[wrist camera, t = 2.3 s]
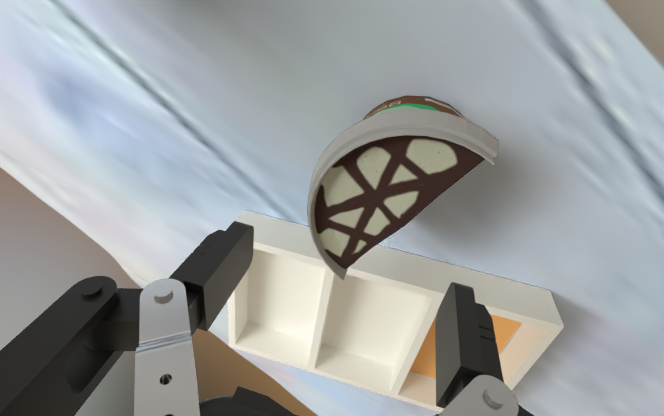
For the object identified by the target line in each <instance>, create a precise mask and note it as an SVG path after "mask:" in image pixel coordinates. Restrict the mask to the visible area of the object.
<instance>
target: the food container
mask: <svg viewBox="0 0 664 416" xmlns="http://www.w3.org/2000/svg"><path fill="white" fill-rule="evenodd" d="M497 155H498V140H497V139H496V138H495V137H493V136H492V135H491V134H489V133H488V132H487V131H486V130H484V129H483V128H481V127H479V126H477V125H475V124H474V123H472V122H470V121H468V120H466V119H464V117H463V116H462V114H460V113H459V112H458V111H457V110H455V109H454V108H453V107H451V106H450V105H449V104H446V103H444V102H441V101H438V100H436V99H433V98H431V97H425V96H403V97H399V98H396V99H392V100H388V101H386V102H384V103H382V104H381V105H379V106H378V107H376V108H374V109H373V110H372V111H371V112H370V113H369V114H368V115H366V117H365V118H364V119H363V120H362V121H360V122H358V123H356V124H354V125H353V126H351V127H350V128H348V129H347V130H345V131H344V132H343V133H341V134H340V135H339V136H338V137H337V138H336V139H335V140H334V141H333V142H332V143H331V144H330V145H329V146H328V147H327V149H326V150H325V151H324V153H323V154H322V155H321V157H320V159H319V161H318V163H317V165H316V167H315V169H314V172H313V175H312V179H311V183H310V188H309V195H308V205H307V214H308V223H309V227H310V232H311V236H312V239H313V242H314V245H315V247H316V249H317V251H318V253H319V255H320V256H321V258H322V259H323V261H324V262H325V264H326V265H327V266H328V267H329V268H330V269H331V271H332V272H333V273H334V274H335V275H337V276H338V277H339V278H340V279H341V280H342V281H344V278H345V275H346V273H347V270H348V267H349V266H351V265H353V264H354V263H355V262H356V261H357V260H358V259H359V258H360V257H361V256H362V255H364V254H365V253H366V252H368V251H369V250H370V249H372V248H373V247H374V246H376V245H377V244H378V243H380V242H381V241H383V240H384V239H386V238H387V237H389V236H390V235H392V234H393V233H395V232H396V231H397V230H399V229H400V228H402V227H403V226H405V225H406V224H407V223H408V222H409V221H411V220H412V219H413V218H414V217H415V216H416V215H417V214H418V213H420V212H421V211H422V210H423V209H424V208H425V207H426V206H427V205H429V204H430V203H431V202H432V201H433V200H434V199H436V198H437V197H438V196H439V195H440V194H441V193H443V192H444V191H445V190H447V189H448V188H449V187H450V186H452V185H453V184H454V183H455V182H457V181H458V180H459V179H460V178H462V177H463V176H464V175H465V174H467V173H468V172H469V171H471V170H472V169H473V168H474V167H476V166H477V165H478V164H479V163H481V162H482V161H483V160H484V159H486V160H487V161H488V162H490V163H491V164H492V165H495V161H494V158H495V157H496V156H497Z"/></svg>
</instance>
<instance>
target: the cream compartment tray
mask: <svg viewBox="0 0 664 416" xmlns="http://www.w3.org/2000/svg"><path fill="white" fill-rule="evenodd" d="M236 221H237V222H241V223H244V224H248V225H252V226H253V227H254V246H253V258H252V262H251V265H250V267H249V269H248V270H247V272H246V273H245V275H244V276H243V278H242V279H241V281H240V282H239V284H238V285H237V287H236V288H235V290H234V291H233V293H232V294H231V296H230V297H229V299H228V300H227V303H228V333H229V347H232V348H235V349H239V350H242V351H245V352H248V353H251V354H255V355H258V356H261V357H264V358H267V359H271V360H274V361H277V362H280V363H283V364H287V365H290V366H293V367H296V368H299V369H303V370H306V371H309V372H312V373H315V374H319V375H322V376H325V377H328V378H331V379H335V380H338V381H341V382H344V383H347V384H351V385H354V386H357V387H360V388H363V389H367V390H370V391H373V392H376V393H379V394H383V395H386V396H389V397H392V398H395V399H399V400H402V401H405V402H408V403H411V404H415V405H418V406H421V407H424V408H427V409H431V410H434V411H437V412H440V413H441V412H442V411H443V410H444V408H441V407H438V406H436V348H435V321H436V315H437V311H438V309H439V306H440V304H441V302H442V300H443V298H444V296H445V294H446V292H447V290H448V288H449V286H450V284H451V283H452V282H455V283H459V284H462V285H466V286H469V287H472V288H473V289H474V295H475V303H479V304H482V305H485V307H486V309H487V310H488V312H489V314H490V315H491V317H492V320H493V326H494V332H495V337H496V343H497V348H498V353H499V358H500V364H501V369H502V375H503V380H504V384H506V385H507V386H508V387H509V388H510V390H511V391H512V390H513V388H514V387H515V386H516V385H517V384H518V382H519V381H520V380H521V379H522V378H523V376H524V375H525V374H526V373H527V371H528V370H529V369H530V368H531V367H532V365H533V364H534V363H535V362H536V361H537V359H538V358H539V357H540V356H541V354H542V353H543V352H544V351H545V350H546V348H547V347H548V346H549V345H550V344H551V342H552V341H553V340H554V339H555V337H556V336H557V335H558V334H559V333H560V331H561V330H562V329H563V328H564V325H563V322H562V320H561V317H560V315H559V312H558V310H557V307H556V305H555V302H554V300H553V297H552V295H551V292H550V290H546V289H543V288H539V287H535V286H531V285H528V284H524V283H520V282H516V281H512V280H509V279H505V278H501V277H497V276H493V275H490V274H486V273H482V272H478V271H475V270H471V269H467V268H463V267H459V266H456V265H452V264H448V263H444V262H441V261H437V260H433V259H429V258H425V257H422V256H418V255H414V254H410V253H406V252H403V251H399V250H395V249H391V248H388V247H384V246H380V245H376V246H374V247H373V248H372V249H370V250H369V251H368V252H366V253H365V254H364V255H362V256H361V257H360V258H359V259H358V260H357V261H356V262H355V263H354V264H353V265H351V266H349V267H348V270H347V273H346V275H345V278H344V281H342V280H341V279H340V278H339V277H338V276H337V275H335V274H334V273H333V272H332V271H331V269H330V268H329V267H328V266H327V265H326V264H325V262H324V261H323V259H322V258H321V256H320V255H319V253H318V251H317V249H316V247H315V245H314V242H313V239H312V236H311V232H310V227H308V226H304V225H300V224H297V223H293V222H289V221H285V220H282V219H278V218H274V217H270V216H266V215H263V214H259V213H255V212H251V211H248V210H244V212H243V213H242V214H241V215H240V216H239V218H238V219H237V220H236Z"/></svg>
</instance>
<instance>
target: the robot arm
mask: <svg viewBox="0 0 664 416" xmlns="http://www.w3.org/2000/svg"><path fill="white" fill-rule="evenodd" d="M253 246H254V227H253V226H252V225H248V224H244V223H241V222H237V221H234V222H233V223H232V224H231V225H230V227H229V228H228V229H227V230H226V231H222V230H218V231H216V232H214V233H212V234H210V235H208V236H207V237H206V238H205V239H204V240H203V241H202V242H201V244H200V246H198V247H197V248H196V249H195V250H194V252H193V253H191V254H190V256H189V257H188V258H187V259H186V260H185V261H184V262H183V263H182V264H181V265H180V266H179V267H178V269H177V270H176V271H175V272H174V273H173V274H172V275H171V276H170V277H169V278H168V279H161V280H157V281H154V282H152V283H150V284H149V285H148V286H146V287H145V288H144V289H123V288H120V289H119V288H117V285H116V283H115V281H114V280H113V279H111V278H109V277H105V276H94V277H90V278H86V279H84V280H82V281H80V282H78V283H77V284H75V285H73V286H72V287H71V288H70V289H69V290H68V291H67V292H65V294H63V295H62V296H61V297H60V298H59V299H58V300H57V301H55V302H54V303H53V304H52V305H51V306H50V307H49V308H48V309H47V310H45V311H44V312H43V313H42V314H41V315H40V316H39V317H38V318H37V319H35V320H34V321H33V322H32V323H31V324H30V325H29V326H28V327H26V328H25V329H24V330H23V331H22V332H21V333H20V334H19V335H17V336H16V337H15V338H14V339H13V340H12V341H11V342H10V343H9V344H7V345H6V346H5V347H4V348H3V349H2V350H1V351H0V416H74V415H75V414H76V412H77V411H78V410H79V409H80V408H81V406H82V405H83V404H84V402H85V401H86V400H87V398H88V397H89V396H90V395H91V393H92V392H93V391H94V390H95V388H96V387H97V386H98V384H99V383H100V382H101V381H102V379H103V378H104V377H105V375H106V374H107V372H108V371H109V370H110V369H111V367H112V366H113V365H114V364H115V362H116V361H117V360H118V359H119V357H120V356H121V355H122V353H123V352H124V351H136V356H135V398H134V416H297V415H294V414H293V413H291V412H290V411H288V410H287V409H285V408H284V407H282V406H281V405H279V404H278V403H277V402H275V401H274V400H272V399H271V398H269V397H268V396H265V395H262V394H259V393H257V392H254V391H250V390H248V389H245V388H242V387H238V388H237V390H236V392H235V394H234V396H219V397H215V398H211V399H208V400H205V401H203V402H201V403H199V397H198V389H197V380H196V372H195V364H194V355H193V347H192V338H191V337H192V335H193V334H194V332H195V331H196V329H197V328H198V329H201V330H205V331H208V329H209V328H210V326H211V324H212V323H213V321H214V320H215V318H216V317H217V315H218V314H219V312H220V311H221V309H222V308H223V306H224V305H225V303H226V302H227V300H228V299H229V297H230V296H231V294H232V293H233V291H234V290H235V288H236V287H237V285H238V284H239V282H240V281H241V279H242V278H243V276H244V275H245V273H246V272H247V270H248V269H249V267H250V265H251V262H252V258H253ZM435 348H436V406H438V407H441V408H444V410H443V411H442V412H441V413H440V414H439V415H438V414H436V415H435V416H534V415H532V414H531V413H529V412H528V411H526V410H525V409H523V408H522V407H521V406H520V405H519V404H518V402H517V399H516V397H515V395H514V394H513V392H512V391H511V390H510V388H509V387H508V386H507V385H506V384H504V380H503V375H502V369H501V364H500V358H499V353H498V348H497V343H496V337H495V332H494V326H493V320H492V317H491V315H490V314H489V312H488V310H487V309H486V307H485V305H482V304H479V303H475V295H474V289H473V288H472V287H469V286H466V285H462V284H459V283H455V282H452V283H451V284H450V286H449V288H448V290H447V292H446V294H445V296H444V298H443V300H442V302H441V304H440V306H439V309H438V311H437V315H436V321H435Z"/></svg>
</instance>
